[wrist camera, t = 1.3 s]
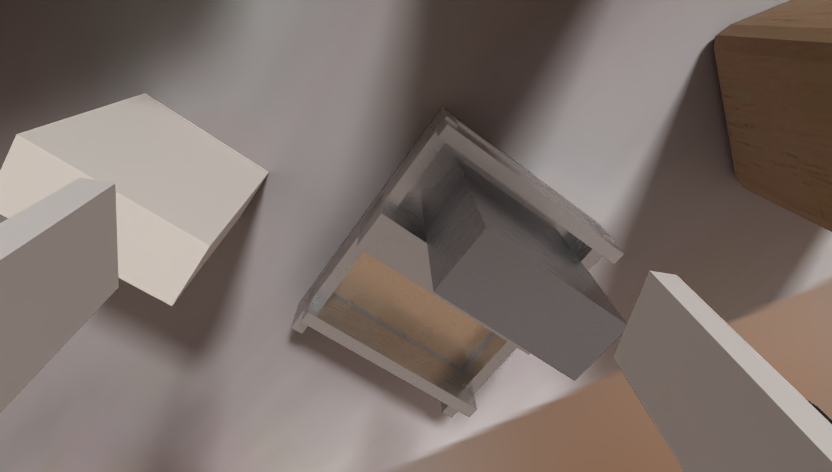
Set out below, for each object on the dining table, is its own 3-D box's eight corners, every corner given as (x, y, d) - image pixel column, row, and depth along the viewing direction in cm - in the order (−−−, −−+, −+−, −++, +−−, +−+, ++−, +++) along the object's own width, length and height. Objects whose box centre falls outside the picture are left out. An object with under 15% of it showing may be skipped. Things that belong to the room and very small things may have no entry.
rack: (299, 303, 36) (255, 434, 24) (442, 107, 31) (467, 159, 20) (447, 388, 39) (468, 538, 28) (597, 223, 34) (694, 324, 23)
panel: (119, 142, 31) (-16, 205, 21) (145, 93, 30) (16, 134, 20) (240, 216, 33) (171, 306, 23) (269, 172, 32) (209, 246, 22)
